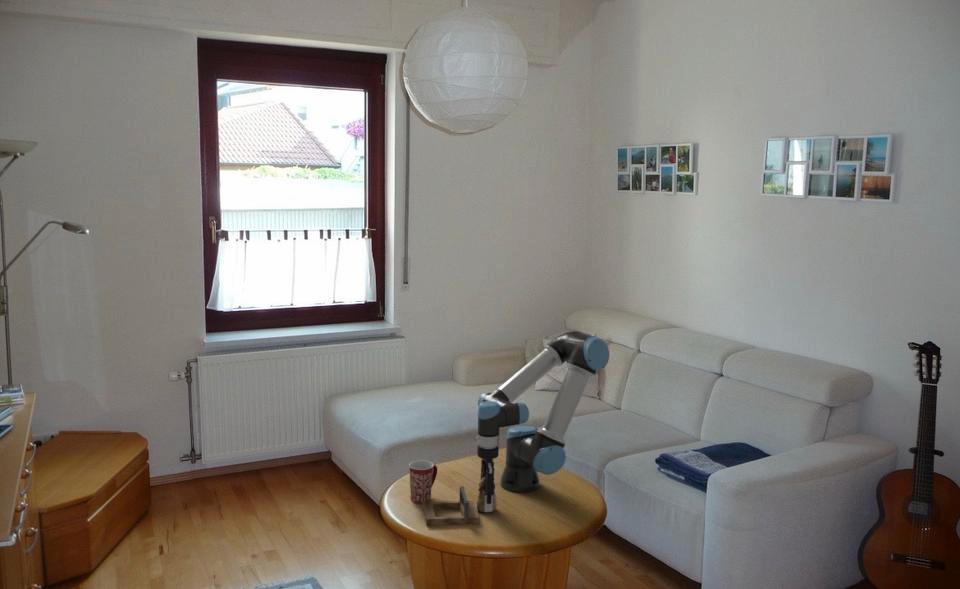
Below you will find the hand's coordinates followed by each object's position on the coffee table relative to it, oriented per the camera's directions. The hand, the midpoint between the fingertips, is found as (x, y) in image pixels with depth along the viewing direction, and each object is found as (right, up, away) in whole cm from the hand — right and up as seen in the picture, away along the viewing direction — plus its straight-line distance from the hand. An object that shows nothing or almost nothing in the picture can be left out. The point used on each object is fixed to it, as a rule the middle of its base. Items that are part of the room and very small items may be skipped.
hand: (486, 506), depth 285 cm
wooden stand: (-13, -2, -6) cm, 14 cm away
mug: (-23, +1, +8) cm, 25 cm away
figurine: (0, -1, 0) cm, 1 cm away
